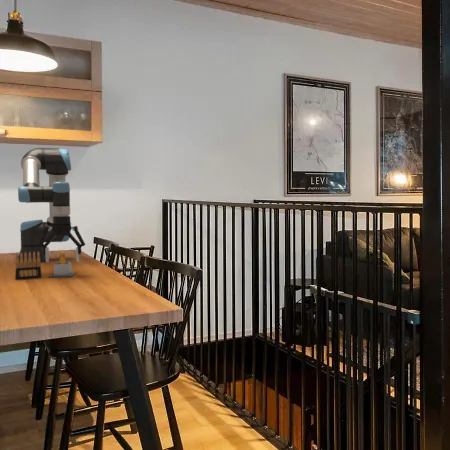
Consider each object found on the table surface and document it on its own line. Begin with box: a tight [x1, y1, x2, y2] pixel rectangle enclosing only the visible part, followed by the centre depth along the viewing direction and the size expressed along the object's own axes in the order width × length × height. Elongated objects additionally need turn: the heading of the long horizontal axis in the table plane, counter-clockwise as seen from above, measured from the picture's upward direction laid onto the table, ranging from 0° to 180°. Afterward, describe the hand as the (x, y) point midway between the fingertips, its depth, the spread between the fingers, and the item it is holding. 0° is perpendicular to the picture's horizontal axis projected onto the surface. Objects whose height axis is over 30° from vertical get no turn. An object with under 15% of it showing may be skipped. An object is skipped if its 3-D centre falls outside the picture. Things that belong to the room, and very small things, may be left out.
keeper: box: [47, 251, 78, 279], centre depth 218 cm, size 12×10×11 cm
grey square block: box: [53, 261, 73, 275], centre depth 218 cm, size 6×6×5 cm
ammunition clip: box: [14, 251, 43, 281], centre depth 210 cm, size 11×2×12 cm, turn 118°
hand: (62, 261), depth 218 cm, fingers open, 13 cm apart
